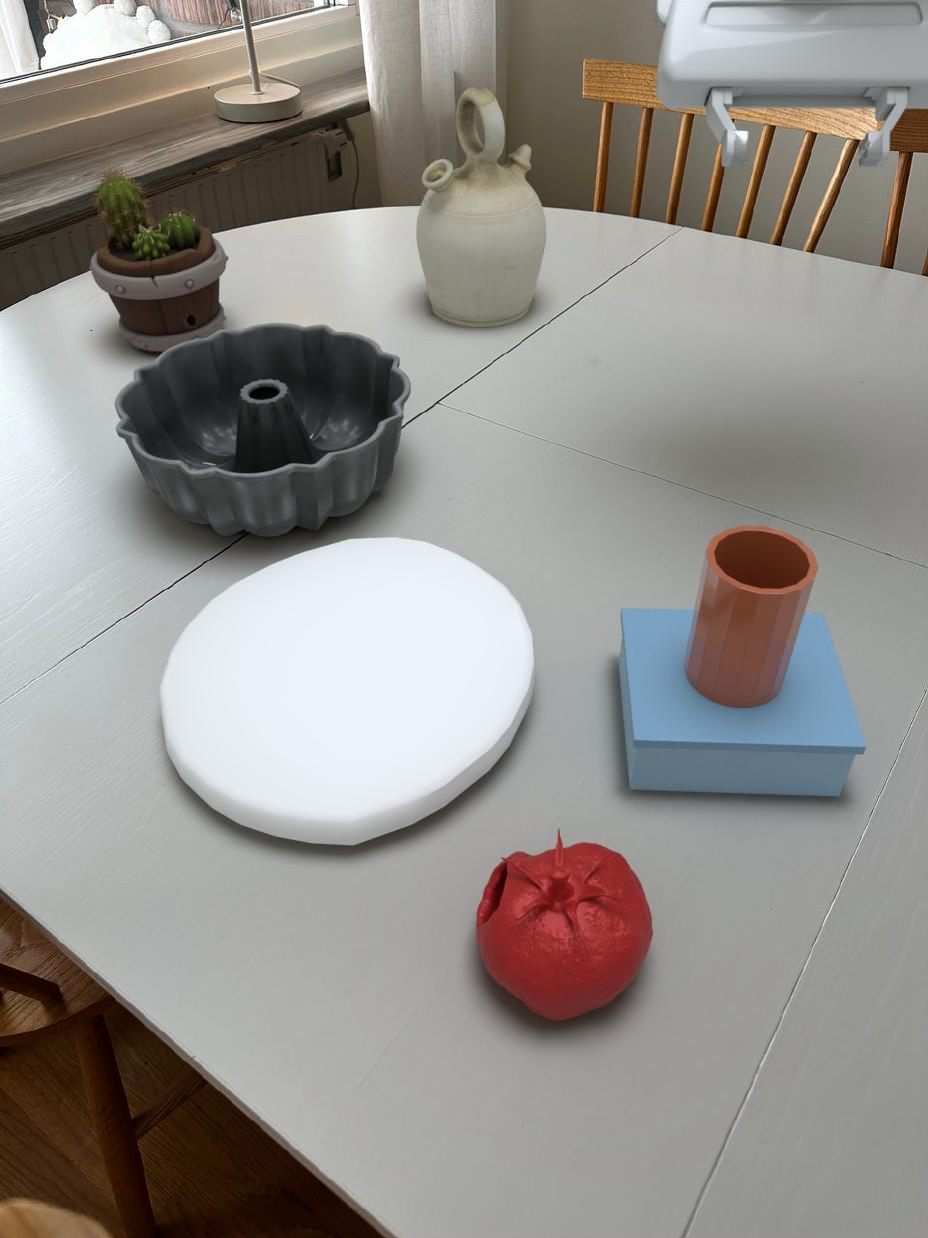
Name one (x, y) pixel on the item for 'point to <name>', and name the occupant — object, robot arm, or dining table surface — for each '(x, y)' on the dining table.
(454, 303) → the jug
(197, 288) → the flowerpot
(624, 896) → the pomegranate
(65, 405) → the dining table surface
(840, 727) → the container
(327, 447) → the bundt pan
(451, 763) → the plate
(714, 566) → the cup
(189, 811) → the dining table surface
